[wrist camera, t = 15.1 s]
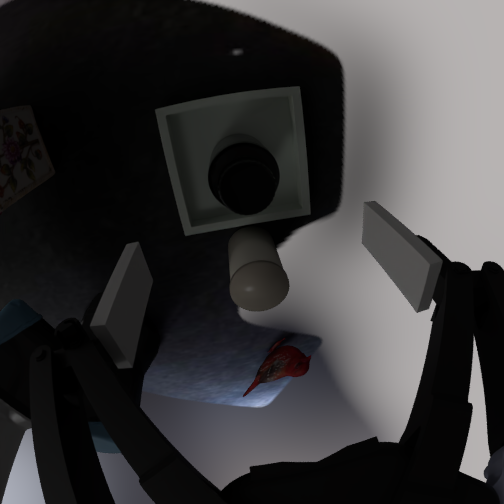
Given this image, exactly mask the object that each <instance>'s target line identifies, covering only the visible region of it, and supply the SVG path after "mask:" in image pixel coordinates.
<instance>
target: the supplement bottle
mask: <svg viewBox="0 0 504 504" xmlns="http://www.w3.org/2000/svg"><path fill="white" fill-rule="evenodd" d="M279 181H280V171H279V166H278V164H277V161H276V159H275V158H274V156H273V155H272V154H271V153H270V151H269V150H268V149H267V148H266V147H265V146H264V145H263V144H262V143H261V142H260V141H259V140H257V139H256V138H254V137H253V136H250V135H247V134H241V133H237V134H232V135H229V136H226V137H224V138H223V139H221V140H220V141H219V142H218V143H217V144H216V146H215V147H214V149H213V151H212V154H211V157H210V163H209V169H208V184H209V188H210V190H211V192H212V194H213V196H214V197H215V199H216V200H217V201H218V202H219V203H221V204H222V205H223V206H225V207H226V208H228V209H229V210H230V211H233V212H234V213H236V214H239V215H245V216H246V215H253V214H257V213H259V212H262V211H263V210H264V209H266V208H267V206H269V205H270V203H271V202H272V201H273V197H274V196H275V192H276V191H277V188H278V185H279Z"/></svg>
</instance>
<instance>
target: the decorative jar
mask: <svg viewBox="0 0 504 504" xmlns="http://www.w3.org/2000/svg"><path fill="white" fill-rule="evenodd" d="M54 174H55V170H54V167H53V165H52V163H51V160H50V157H49V154H48V152H47V149H46V147H45V144H44V141H43V139H42V136H41V134H40V131H39V128H38V126H37V123H36V120H35V116H34V113H33V110H32V107H31V106H30V105H24V106H17V107H12V108H7V109H4V110H0V215H1V214H2V211H4V210H5V209H6V208H7V207H9V206H10V205H12V204H13V203H14V202H16V201H17V200H19V199H20V198H22V197H23V196H24V195H26V194H27V193H29V192H30V191H31V190H33V189H34V188H36V187H37V186H39V185H40V184H42V183H43V182H45V181H46V180H48V179H49V178H50V177H52V176H53V175H54Z"/></svg>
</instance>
